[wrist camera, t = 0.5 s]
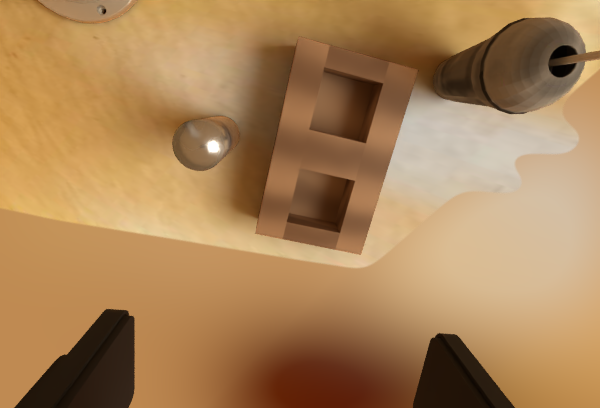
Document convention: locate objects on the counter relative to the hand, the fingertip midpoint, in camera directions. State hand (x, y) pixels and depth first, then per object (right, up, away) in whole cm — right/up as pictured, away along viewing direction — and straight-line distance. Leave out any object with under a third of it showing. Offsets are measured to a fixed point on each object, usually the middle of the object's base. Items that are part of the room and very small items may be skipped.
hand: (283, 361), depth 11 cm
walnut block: (+4, +11, +29) cm, 31 cm away
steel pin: (-8, +13, +28) cm, 32 cm away
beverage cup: (+18, +19, +28) cm, 38 cm away
